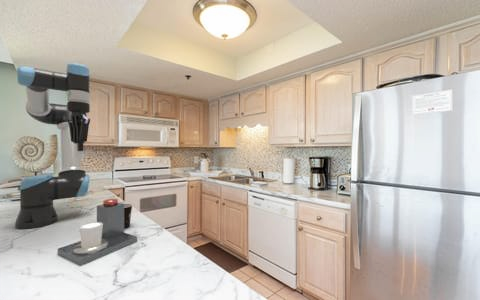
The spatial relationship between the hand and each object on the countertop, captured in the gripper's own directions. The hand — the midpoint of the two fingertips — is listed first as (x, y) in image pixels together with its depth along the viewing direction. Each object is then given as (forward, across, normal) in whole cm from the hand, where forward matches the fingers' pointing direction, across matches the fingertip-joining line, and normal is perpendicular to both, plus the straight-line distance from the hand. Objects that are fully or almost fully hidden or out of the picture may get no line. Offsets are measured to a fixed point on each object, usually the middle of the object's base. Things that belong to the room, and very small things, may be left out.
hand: (78, 158), depth 91 cm
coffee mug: (+33, +6, +16) cm, 37 cm away
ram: (+28, +14, +4) cm, 32 cm away
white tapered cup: (+30, +20, -6) cm, 37 cm away
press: (+32, +18, -2) cm, 37 cm away
